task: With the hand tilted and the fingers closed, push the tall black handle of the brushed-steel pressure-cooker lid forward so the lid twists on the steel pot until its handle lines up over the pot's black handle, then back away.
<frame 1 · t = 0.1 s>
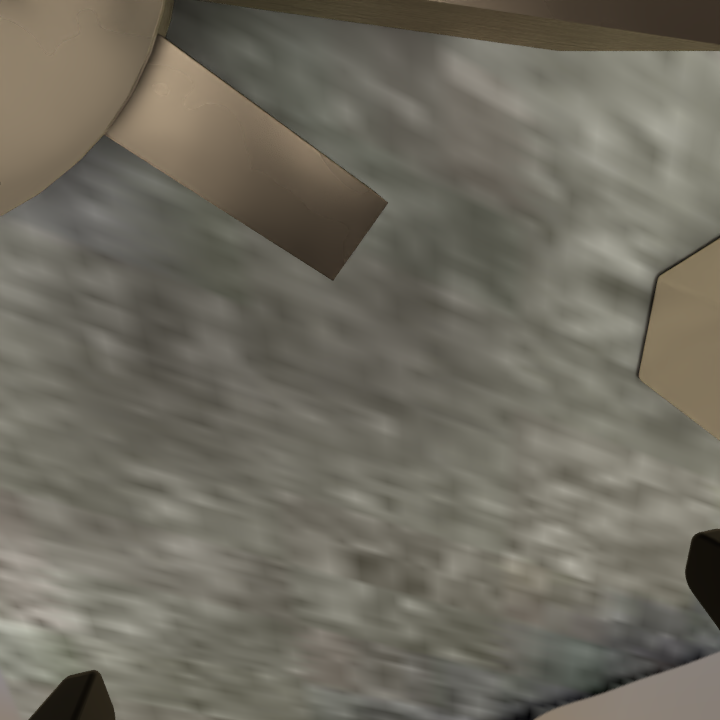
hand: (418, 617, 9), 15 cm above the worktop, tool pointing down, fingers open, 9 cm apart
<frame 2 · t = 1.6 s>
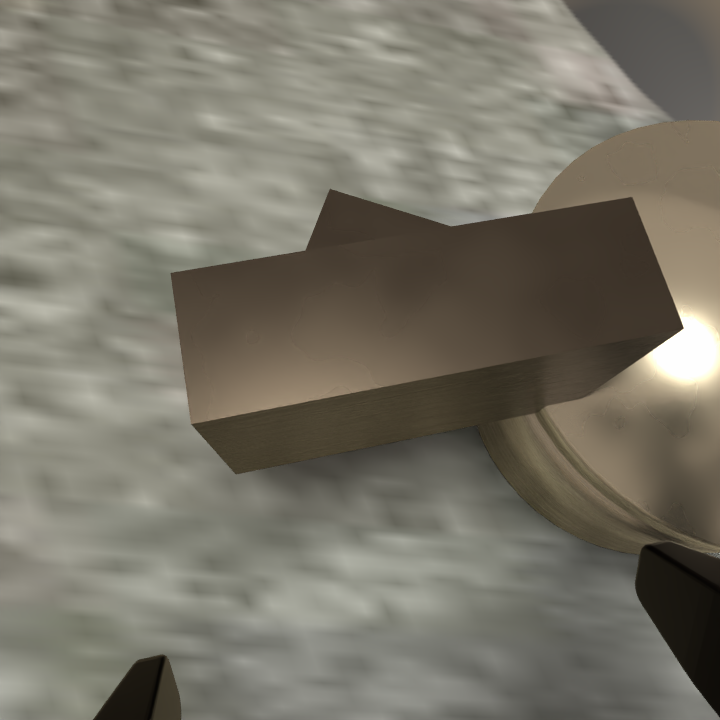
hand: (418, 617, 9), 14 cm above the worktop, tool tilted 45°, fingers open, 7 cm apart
cooker lid: (646, 309, 16), point 9 cm above the worktop, hinge at 0.0°
cooker pot: (630, 383, 25), on the worktop
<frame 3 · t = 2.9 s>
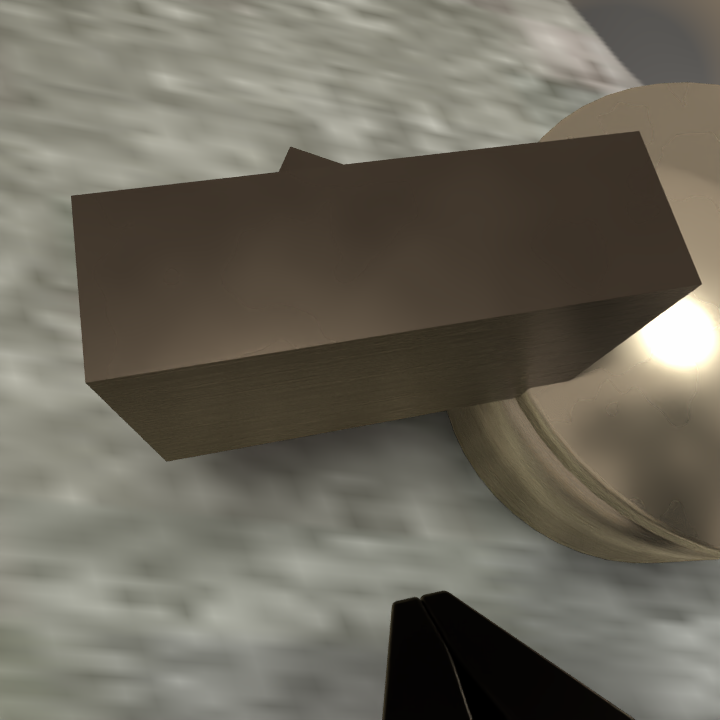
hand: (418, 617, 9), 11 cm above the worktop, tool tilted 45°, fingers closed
cooker lid: (645, 276, 14), point 9 cm above the worktop, hinge at 0.0°
cooker pot: (615, 376, 23), on the worktop
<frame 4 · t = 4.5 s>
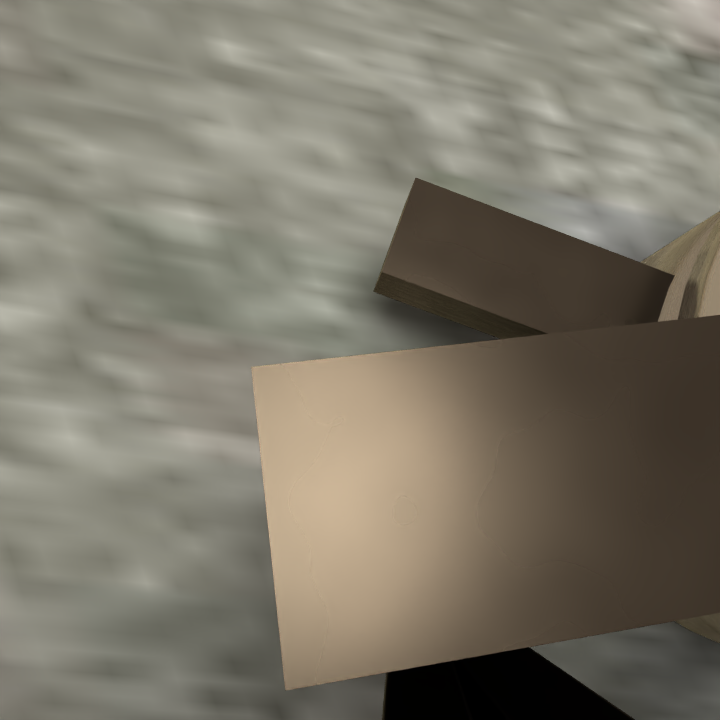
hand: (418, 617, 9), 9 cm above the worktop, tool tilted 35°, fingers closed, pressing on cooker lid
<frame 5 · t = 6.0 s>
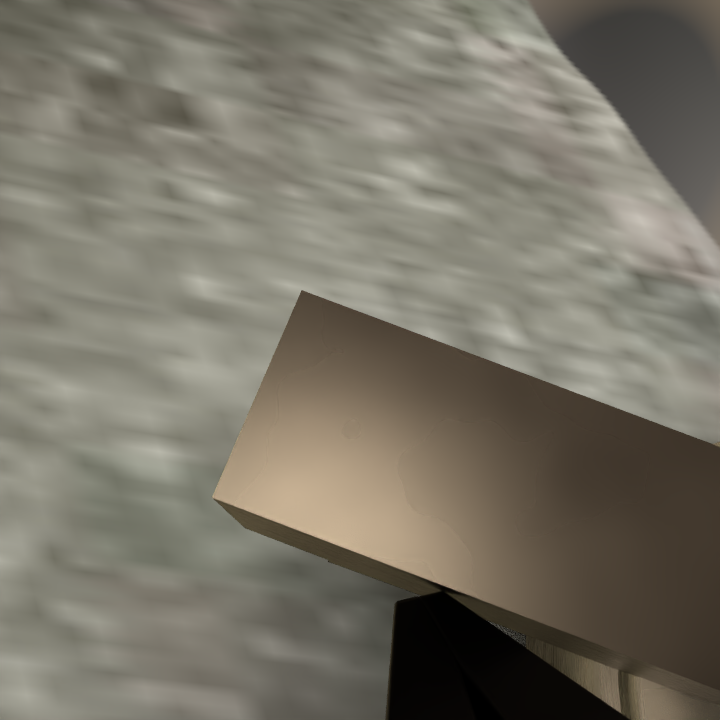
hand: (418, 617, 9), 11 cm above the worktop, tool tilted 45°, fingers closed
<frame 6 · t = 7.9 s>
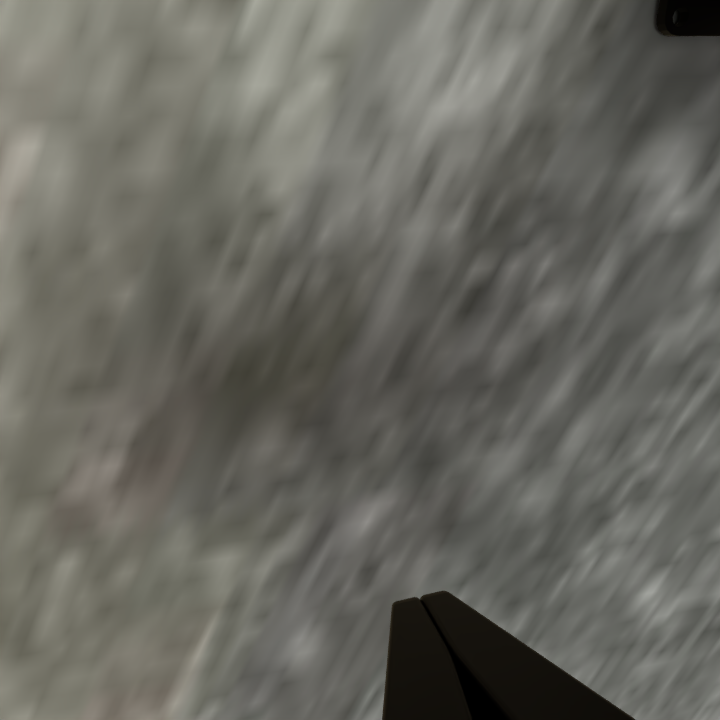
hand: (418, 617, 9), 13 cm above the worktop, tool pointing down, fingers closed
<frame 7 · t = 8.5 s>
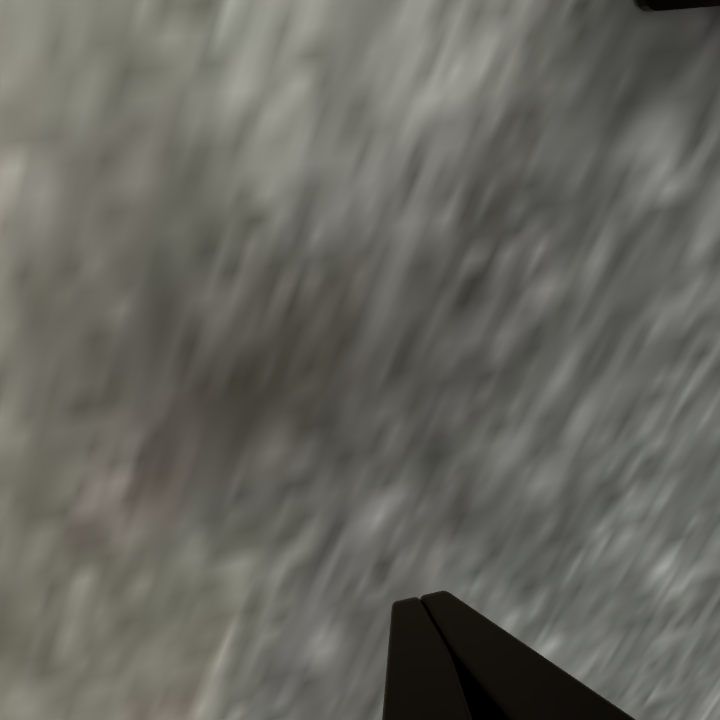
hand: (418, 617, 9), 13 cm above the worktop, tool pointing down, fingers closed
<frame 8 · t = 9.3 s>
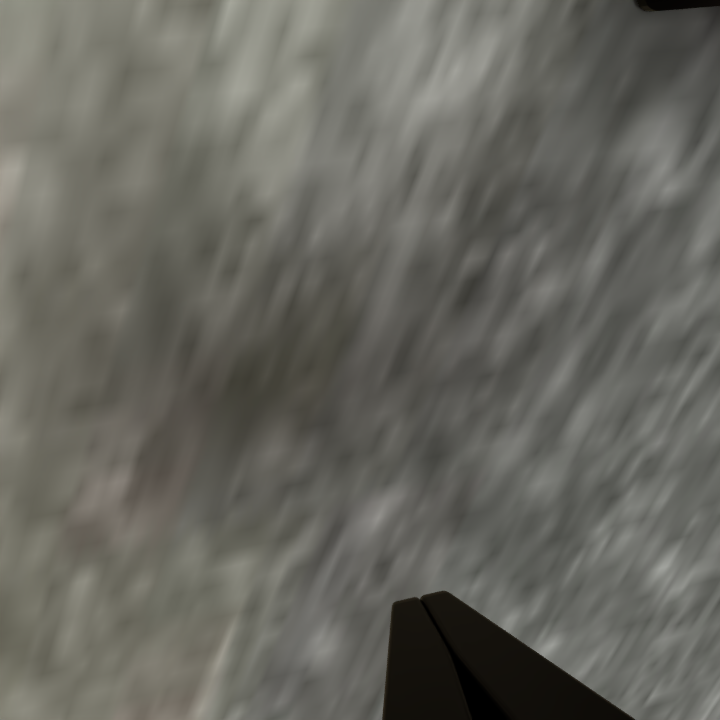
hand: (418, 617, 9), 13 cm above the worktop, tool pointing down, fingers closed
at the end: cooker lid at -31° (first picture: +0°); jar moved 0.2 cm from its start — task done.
